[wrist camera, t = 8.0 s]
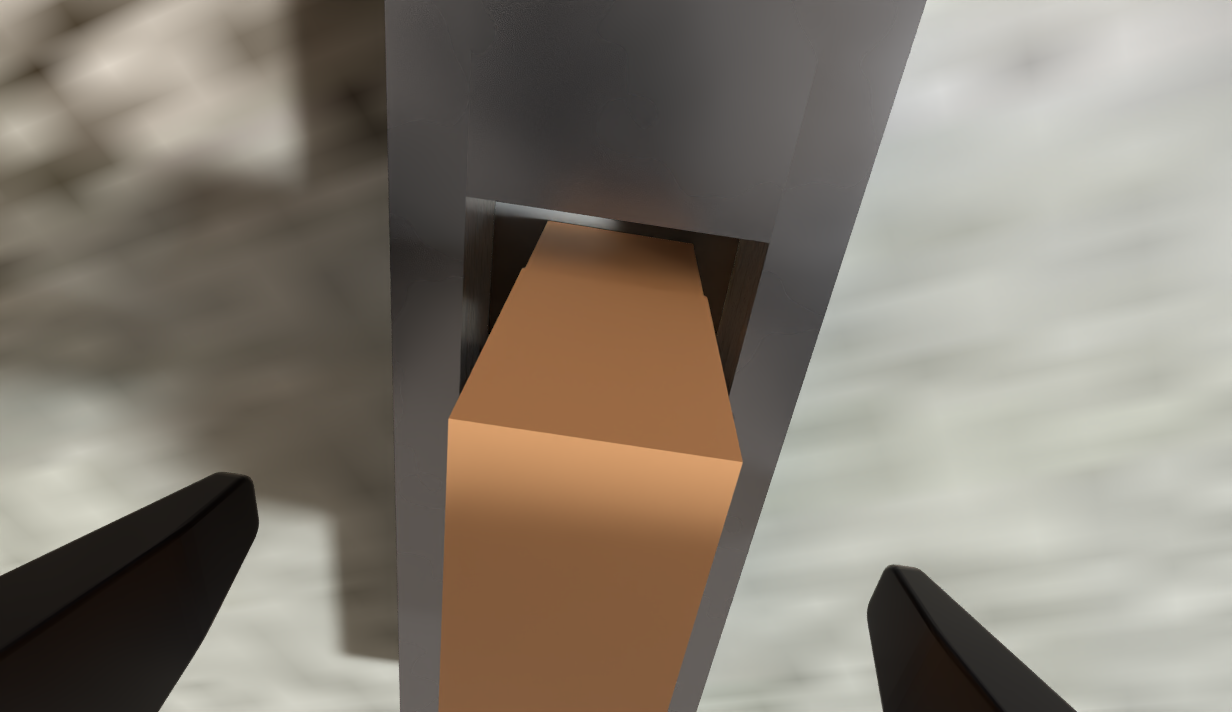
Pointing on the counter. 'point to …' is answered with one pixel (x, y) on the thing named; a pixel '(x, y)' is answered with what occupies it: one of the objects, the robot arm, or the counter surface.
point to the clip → (585, 482)
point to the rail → (622, 212)
